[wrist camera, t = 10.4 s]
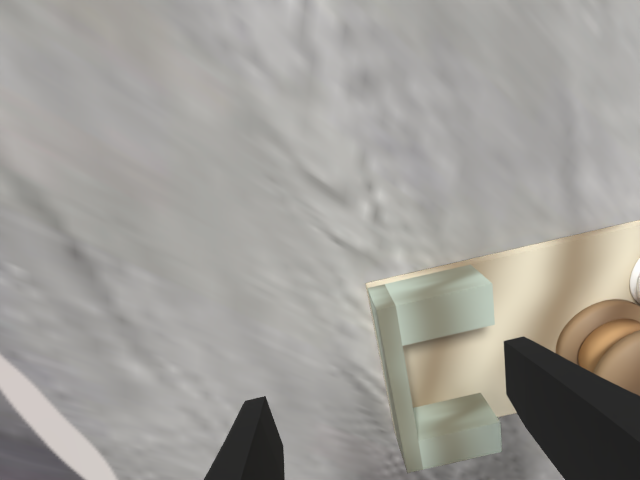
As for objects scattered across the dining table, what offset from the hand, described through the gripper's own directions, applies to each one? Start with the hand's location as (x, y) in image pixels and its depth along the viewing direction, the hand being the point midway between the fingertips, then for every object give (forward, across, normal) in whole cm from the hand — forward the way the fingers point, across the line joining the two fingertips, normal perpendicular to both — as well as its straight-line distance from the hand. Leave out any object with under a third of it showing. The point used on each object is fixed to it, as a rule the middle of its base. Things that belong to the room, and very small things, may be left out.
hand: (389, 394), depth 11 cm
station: (+10, -12, +8) cm, 18 cm away
